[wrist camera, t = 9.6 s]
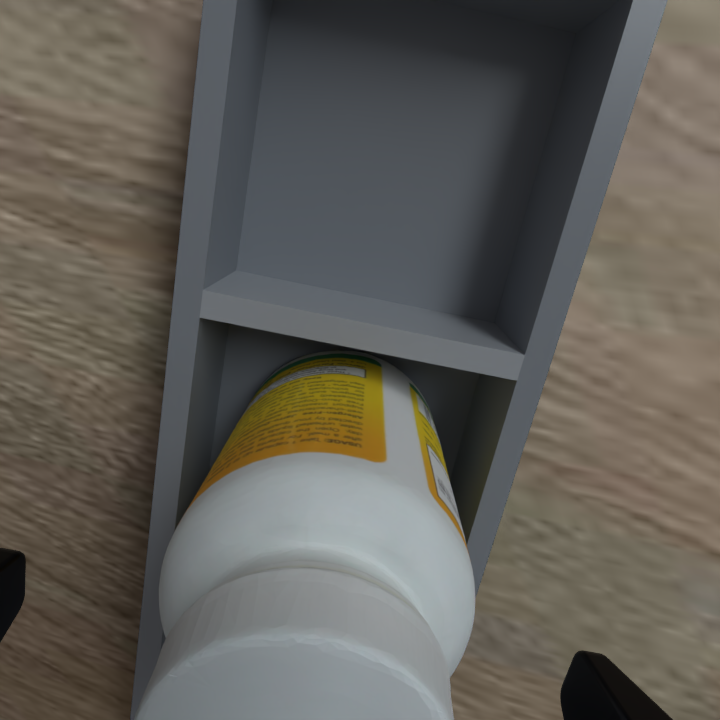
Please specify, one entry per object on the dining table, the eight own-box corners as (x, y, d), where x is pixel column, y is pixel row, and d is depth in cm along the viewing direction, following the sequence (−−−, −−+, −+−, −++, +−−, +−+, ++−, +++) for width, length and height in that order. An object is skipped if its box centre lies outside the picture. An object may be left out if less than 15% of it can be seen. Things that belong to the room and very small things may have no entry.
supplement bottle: (471, 415, 15) (620, 740, 6) (360, 545, 17) (351, 972, 8) (313, 304, 15) (221, 497, 5) (210, 452, 16) (-5, 806, 7)
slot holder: (593, 22, 13) (682, -45, 10) (389, 728, 20) (393, 852, 16) (263, -54, 13) (219, -154, 9) (168, 690, 20) (120, 808, 16)
